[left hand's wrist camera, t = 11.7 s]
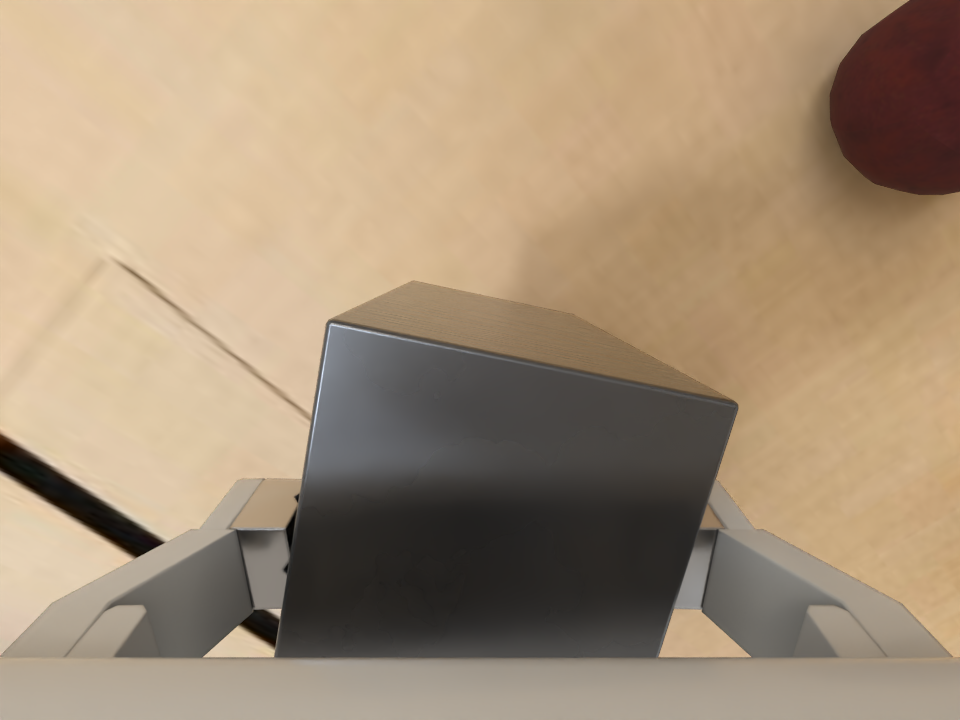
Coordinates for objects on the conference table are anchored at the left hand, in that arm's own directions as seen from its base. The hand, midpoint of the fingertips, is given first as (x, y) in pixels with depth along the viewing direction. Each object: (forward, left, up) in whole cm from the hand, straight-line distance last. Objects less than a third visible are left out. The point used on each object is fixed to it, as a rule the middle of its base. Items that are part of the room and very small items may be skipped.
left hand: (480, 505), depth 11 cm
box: (+9, +1, -7) cm, 12 cm away
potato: (-15, +14, -17) cm, 26 cm away
